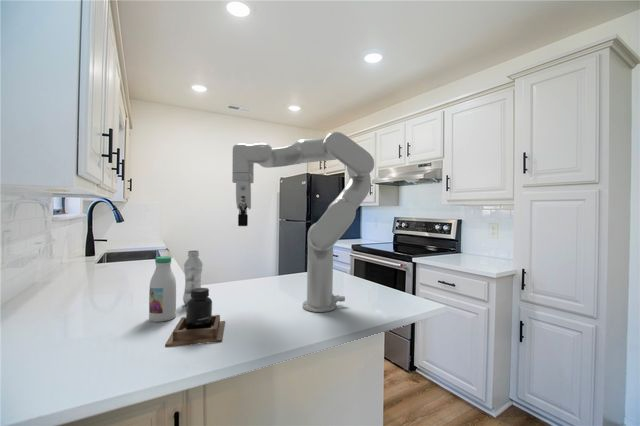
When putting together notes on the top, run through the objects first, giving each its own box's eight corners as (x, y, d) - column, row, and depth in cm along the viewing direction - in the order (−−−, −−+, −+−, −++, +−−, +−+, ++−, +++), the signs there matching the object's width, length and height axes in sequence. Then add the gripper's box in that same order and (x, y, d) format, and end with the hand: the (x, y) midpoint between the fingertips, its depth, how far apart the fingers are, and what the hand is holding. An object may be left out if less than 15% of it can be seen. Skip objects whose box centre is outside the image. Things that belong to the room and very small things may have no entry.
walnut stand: (225, 322, 94) (225, 312, 94) (221, 341, 80) (221, 330, 80) (177, 326, 90) (177, 316, 90) (165, 346, 77) (165, 334, 77)
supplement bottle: (202, 337, 82) (203, 293, 81) (180, 334, 83) (181, 291, 83) (216, 327, 88) (216, 287, 88) (195, 325, 90) (196, 285, 90)
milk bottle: (171, 312, 102) (171, 254, 102) (179, 318, 97) (180, 257, 96) (146, 317, 97) (146, 256, 96) (153, 324, 91) (153, 259, 91)
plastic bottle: (178, 305, 109) (179, 251, 109) (193, 300, 115) (193, 249, 115) (192, 308, 107) (192, 252, 106) (206, 303, 113) (206, 250, 113)
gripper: (254, 176, 101) (254, 226, 101) (252, 181, 118) (252, 224, 118) (231, 175, 99) (231, 226, 99) (232, 180, 116) (232, 224, 116)
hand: (242, 225), depth 109 cm, fingers open, 9 cm apart
